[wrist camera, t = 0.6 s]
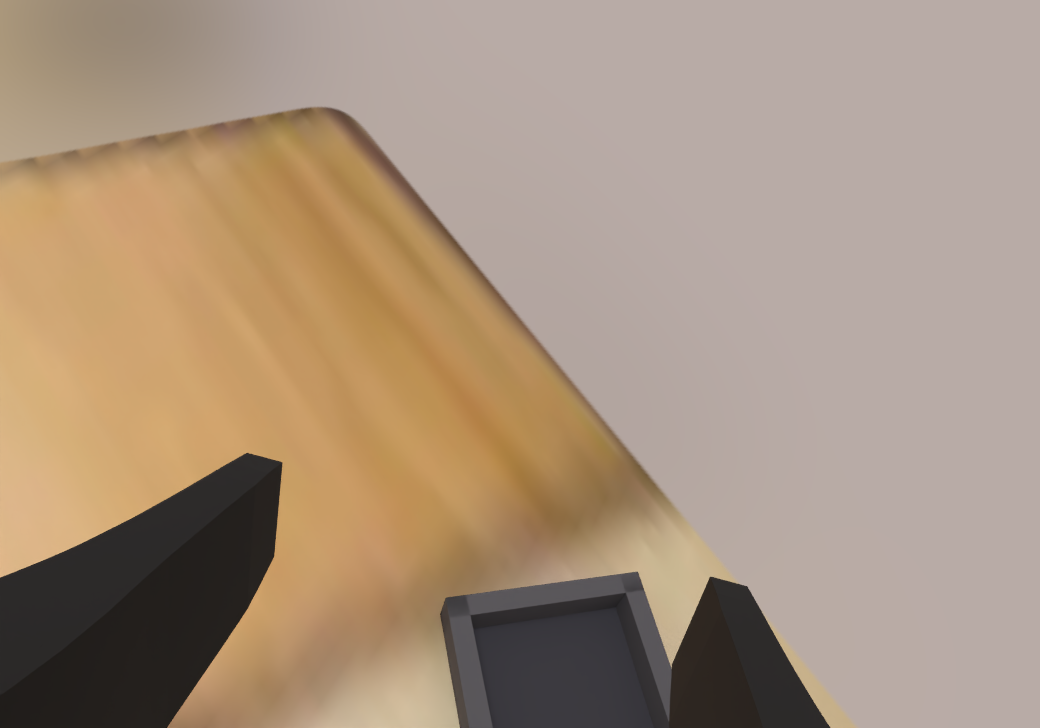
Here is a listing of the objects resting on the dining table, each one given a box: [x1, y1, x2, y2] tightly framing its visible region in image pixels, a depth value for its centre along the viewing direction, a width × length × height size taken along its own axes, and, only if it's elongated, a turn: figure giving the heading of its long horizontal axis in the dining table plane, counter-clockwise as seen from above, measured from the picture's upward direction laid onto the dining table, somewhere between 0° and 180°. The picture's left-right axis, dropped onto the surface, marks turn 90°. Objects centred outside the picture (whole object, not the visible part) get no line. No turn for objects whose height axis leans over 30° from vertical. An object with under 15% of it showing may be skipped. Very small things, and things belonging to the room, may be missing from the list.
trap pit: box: [440, 572, 672, 728], centre depth 29 cm, size 7×8×2 cm
